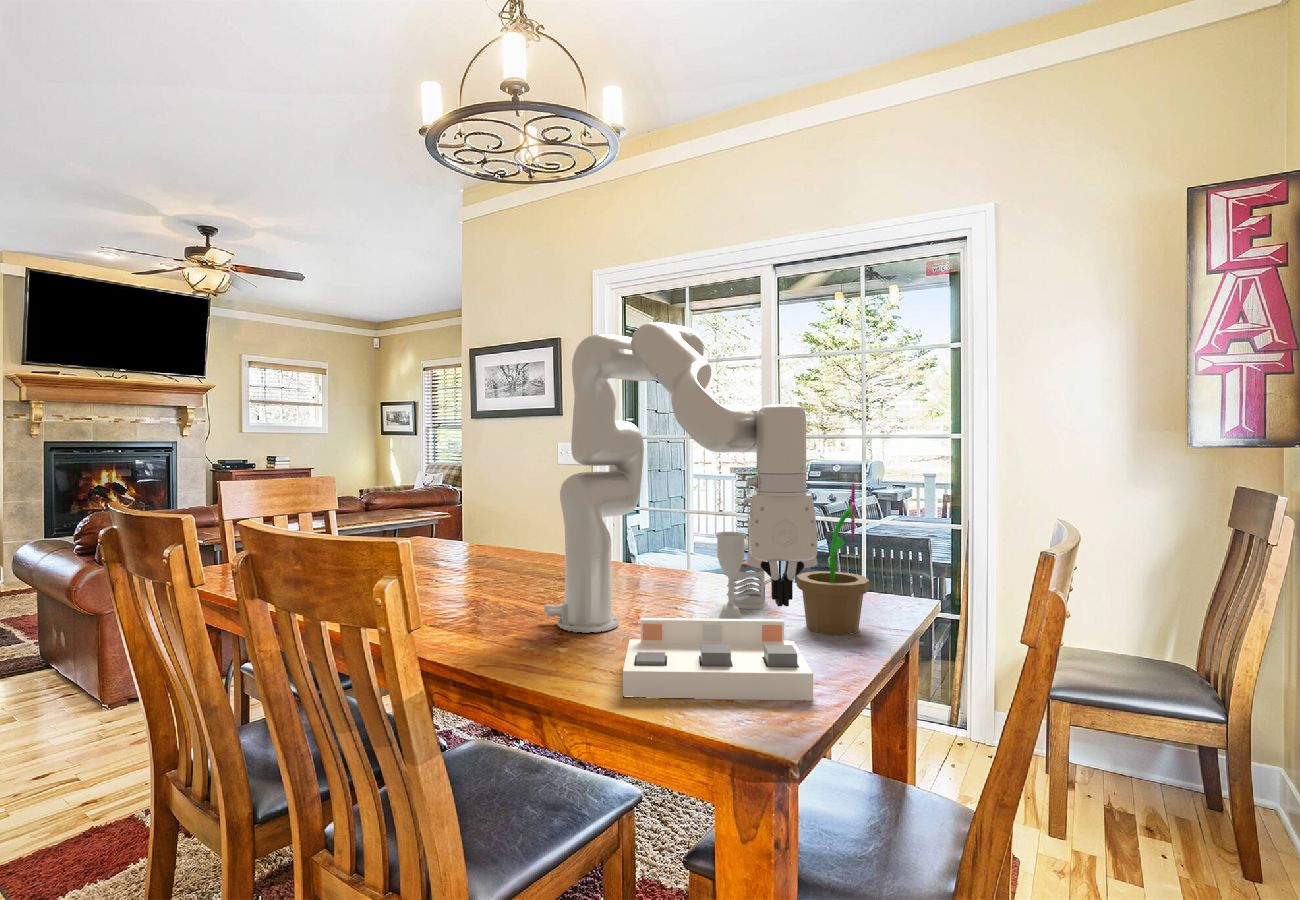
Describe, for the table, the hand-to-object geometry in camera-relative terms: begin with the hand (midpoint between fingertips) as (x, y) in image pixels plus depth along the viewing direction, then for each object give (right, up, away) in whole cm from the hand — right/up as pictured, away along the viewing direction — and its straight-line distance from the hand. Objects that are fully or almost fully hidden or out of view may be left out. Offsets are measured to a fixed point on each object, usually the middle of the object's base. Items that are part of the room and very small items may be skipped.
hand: (781, 604), depth 103 cm
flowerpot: (+17, -13, +34) cm, 40 cm away
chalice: (-3, -13, +42) cm, 44 cm away
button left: (-20, -11, +1) cm, 23 cm away
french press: (+4, -13, +54) cm, 56 cm away
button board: (-10, -13, +4) cm, 17 cm away
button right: (0, -10, 0) cm, 10 cm away
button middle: (-10, -10, +1) cm, 14 cm away
